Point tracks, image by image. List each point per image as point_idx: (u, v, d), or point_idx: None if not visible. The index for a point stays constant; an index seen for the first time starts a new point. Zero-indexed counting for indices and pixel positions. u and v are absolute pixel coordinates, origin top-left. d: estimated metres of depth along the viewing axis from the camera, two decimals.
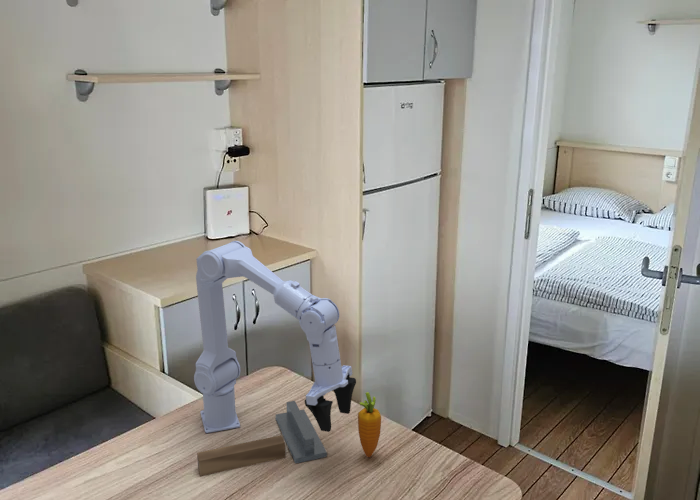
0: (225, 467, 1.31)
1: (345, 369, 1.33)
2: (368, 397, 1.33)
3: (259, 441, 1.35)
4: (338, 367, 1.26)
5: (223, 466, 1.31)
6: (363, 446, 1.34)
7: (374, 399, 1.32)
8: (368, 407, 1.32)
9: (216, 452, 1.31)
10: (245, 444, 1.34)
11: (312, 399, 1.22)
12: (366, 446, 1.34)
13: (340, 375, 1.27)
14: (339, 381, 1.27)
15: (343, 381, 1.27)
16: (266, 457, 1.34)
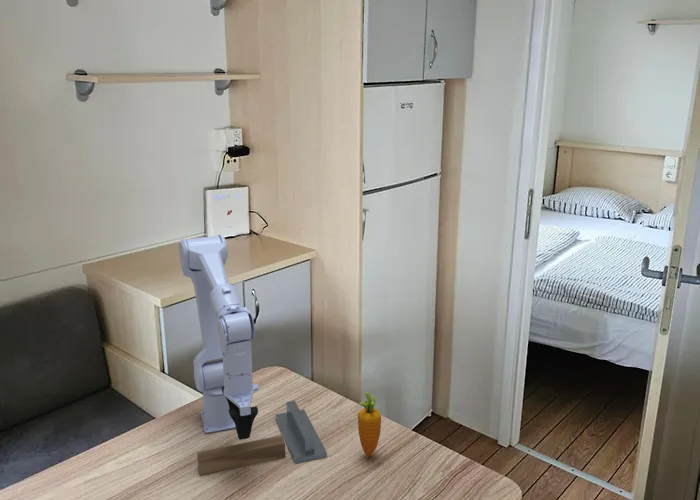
0: (225, 467, 1.31)
1: None
2: (368, 397, 1.33)
3: (259, 441, 1.35)
4: None
5: (223, 466, 1.31)
6: (363, 446, 1.34)
7: (374, 399, 1.32)
8: (368, 407, 1.32)
9: (216, 452, 1.31)
10: (245, 444, 1.34)
11: (249, 409, 1.23)
12: (366, 446, 1.34)
13: None
14: (252, 386, 1.29)
15: (254, 385, 1.30)
16: (266, 457, 1.34)
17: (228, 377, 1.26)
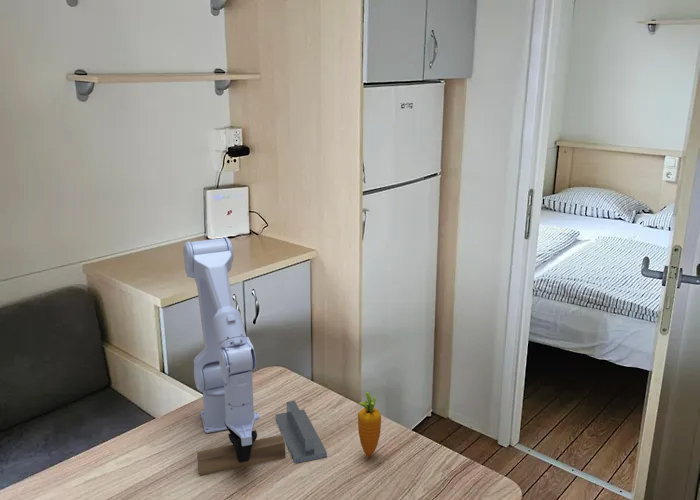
0: (225, 466, 1.31)
1: None
2: (368, 397, 1.33)
3: (259, 441, 1.35)
4: None
5: (223, 465, 1.31)
6: (363, 446, 1.34)
7: (374, 399, 1.32)
8: (368, 407, 1.32)
9: (216, 452, 1.31)
10: None
11: (250, 439, 1.25)
12: (366, 446, 1.34)
13: None
14: (253, 415, 1.31)
15: (255, 414, 1.32)
16: (266, 457, 1.34)
17: (230, 407, 1.28)
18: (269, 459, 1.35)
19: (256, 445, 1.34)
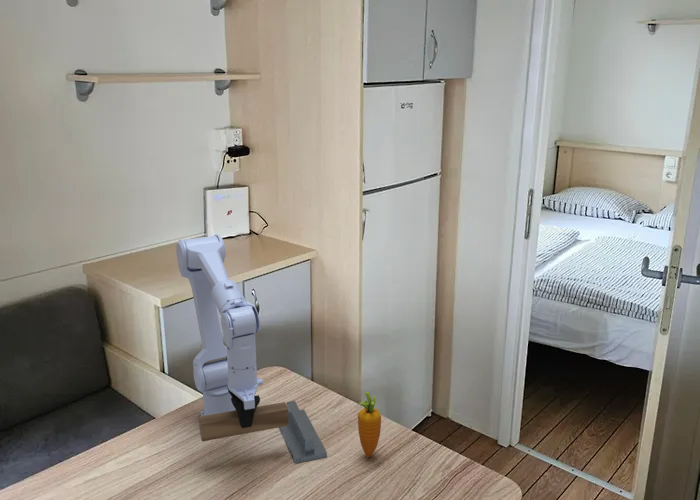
0: (227, 432, 1.30)
1: None
2: (368, 397, 1.33)
3: (262, 407, 1.33)
4: None
5: (225, 431, 1.30)
6: (363, 446, 1.34)
7: (374, 399, 1.32)
8: (368, 407, 1.33)
9: (218, 417, 1.30)
10: None
11: (253, 402, 1.23)
12: (366, 446, 1.34)
13: None
14: (256, 380, 1.30)
15: (258, 379, 1.31)
16: (269, 423, 1.32)
17: (232, 371, 1.26)
18: (272, 426, 1.33)
19: (259, 411, 1.32)
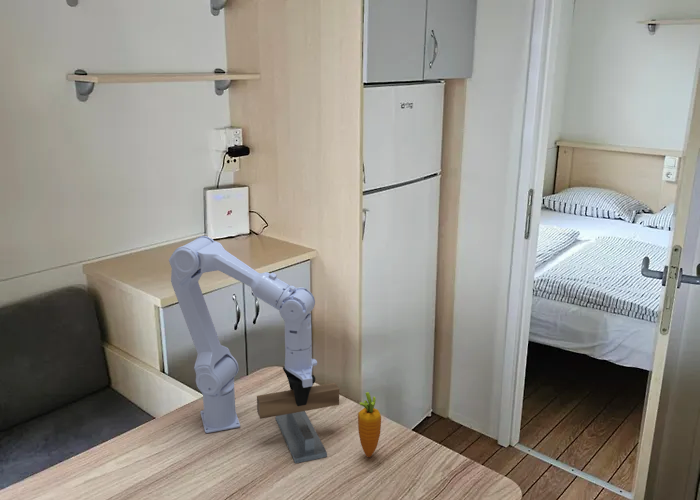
0: (283, 410, 1.38)
1: None
2: (368, 397, 1.33)
3: (314, 387, 1.42)
4: None
5: (282, 409, 1.38)
6: (363, 446, 1.34)
7: (374, 399, 1.32)
8: (368, 407, 1.32)
9: (275, 396, 1.38)
10: None
11: (311, 381, 1.32)
12: (366, 446, 1.34)
13: None
14: (311, 361, 1.38)
15: (312, 360, 1.39)
16: (322, 402, 1.41)
17: (290, 352, 1.34)
18: (324, 405, 1.41)
19: (312, 391, 1.40)
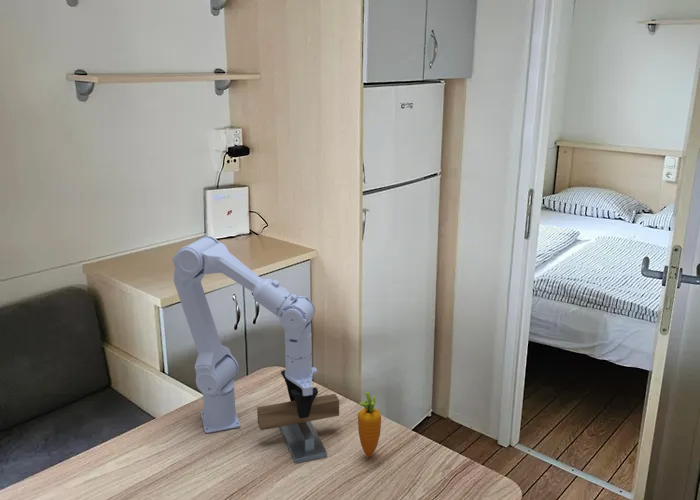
0: (283, 421, 1.39)
1: None
2: (368, 397, 1.33)
3: (315, 398, 1.43)
4: None
5: (282, 420, 1.39)
6: (363, 446, 1.34)
7: (374, 399, 1.32)
8: (368, 407, 1.32)
9: (275, 407, 1.39)
10: None
11: (311, 389, 1.32)
12: (366, 446, 1.34)
13: None
14: (311, 369, 1.39)
15: (313, 368, 1.40)
16: (322, 413, 1.42)
17: (290, 360, 1.35)
18: (324, 416, 1.42)
19: None
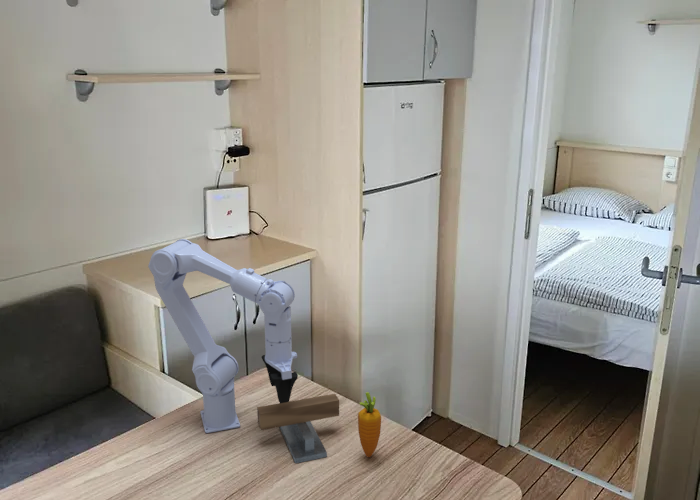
0: (283, 421, 1.39)
1: None
2: (368, 397, 1.33)
3: (315, 398, 1.43)
4: (291, 341, 1.39)
5: (282, 420, 1.39)
6: (363, 446, 1.34)
7: (374, 399, 1.32)
8: (368, 407, 1.32)
9: (275, 407, 1.39)
10: (302, 400, 1.42)
11: (290, 373, 1.33)
12: (366, 446, 1.34)
13: None
14: (291, 354, 1.39)
15: (293, 353, 1.40)
16: (322, 413, 1.42)
17: (270, 344, 1.35)
18: (324, 416, 1.42)
19: (312, 402, 1.41)
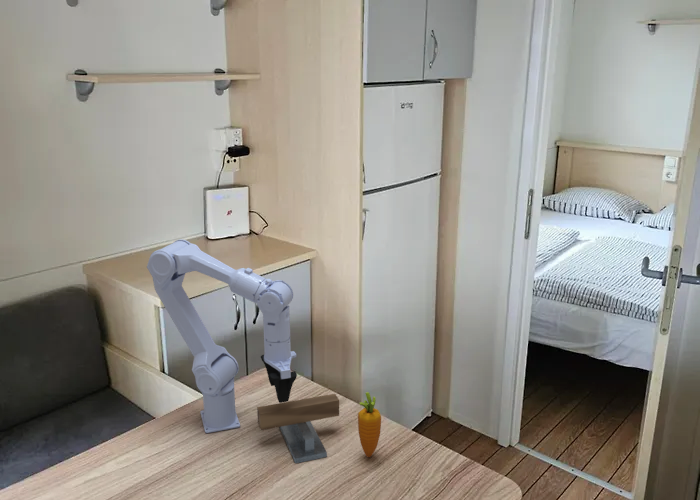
0: (283, 421, 1.39)
1: None
2: (368, 397, 1.33)
3: (315, 398, 1.43)
4: None
5: (282, 420, 1.39)
6: (363, 446, 1.34)
7: (374, 399, 1.32)
8: (368, 407, 1.32)
9: (275, 407, 1.39)
10: (302, 400, 1.42)
11: (289, 372, 1.33)
12: (366, 446, 1.34)
13: None
14: (290, 353, 1.39)
15: (292, 352, 1.40)
16: (322, 413, 1.42)
17: (269, 344, 1.35)
18: (324, 416, 1.42)
19: (312, 402, 1.41)
